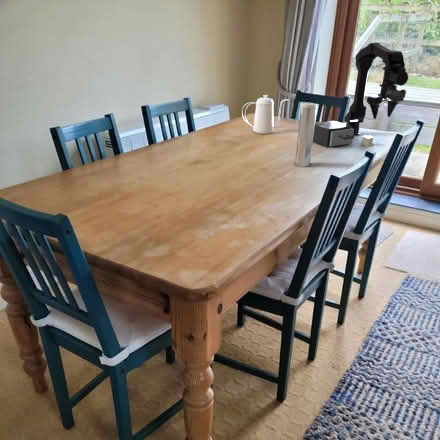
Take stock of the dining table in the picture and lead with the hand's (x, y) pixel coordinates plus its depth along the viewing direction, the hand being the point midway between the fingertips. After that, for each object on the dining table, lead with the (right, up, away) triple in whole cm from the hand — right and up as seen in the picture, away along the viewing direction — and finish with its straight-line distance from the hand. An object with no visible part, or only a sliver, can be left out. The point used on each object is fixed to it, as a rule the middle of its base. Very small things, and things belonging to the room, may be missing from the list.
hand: (381, 117), depth 216 cm
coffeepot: (-53, +4, +31) cm, 62 cm away
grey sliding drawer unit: (-22, -7, +14) cm, 27 cm away
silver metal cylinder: (-41, -27, -18) cm, 53 cm away
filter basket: (-4, -9, +11) cm, 15 cm away
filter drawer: (-19, -9, +10) cm, 23 cm away
